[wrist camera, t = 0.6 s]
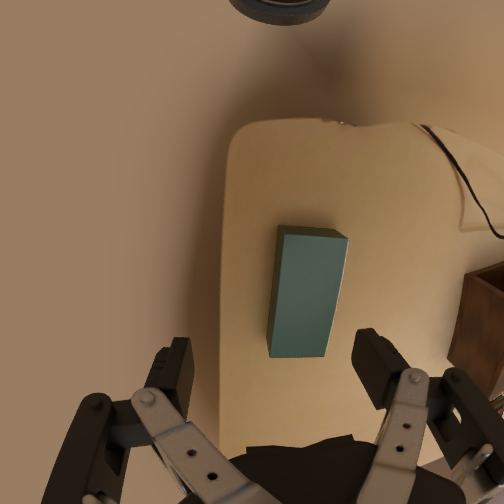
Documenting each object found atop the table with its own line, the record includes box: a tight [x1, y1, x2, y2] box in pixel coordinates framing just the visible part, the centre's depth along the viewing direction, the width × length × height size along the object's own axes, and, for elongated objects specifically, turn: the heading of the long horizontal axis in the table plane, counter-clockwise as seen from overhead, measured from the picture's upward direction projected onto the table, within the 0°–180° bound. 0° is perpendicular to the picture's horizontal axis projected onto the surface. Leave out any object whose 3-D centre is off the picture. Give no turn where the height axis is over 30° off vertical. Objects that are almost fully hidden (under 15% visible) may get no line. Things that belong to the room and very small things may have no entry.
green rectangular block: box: [266, 225, 349, 358], centre depth 26 cm, size 12×6×4 cm, turn 176°
